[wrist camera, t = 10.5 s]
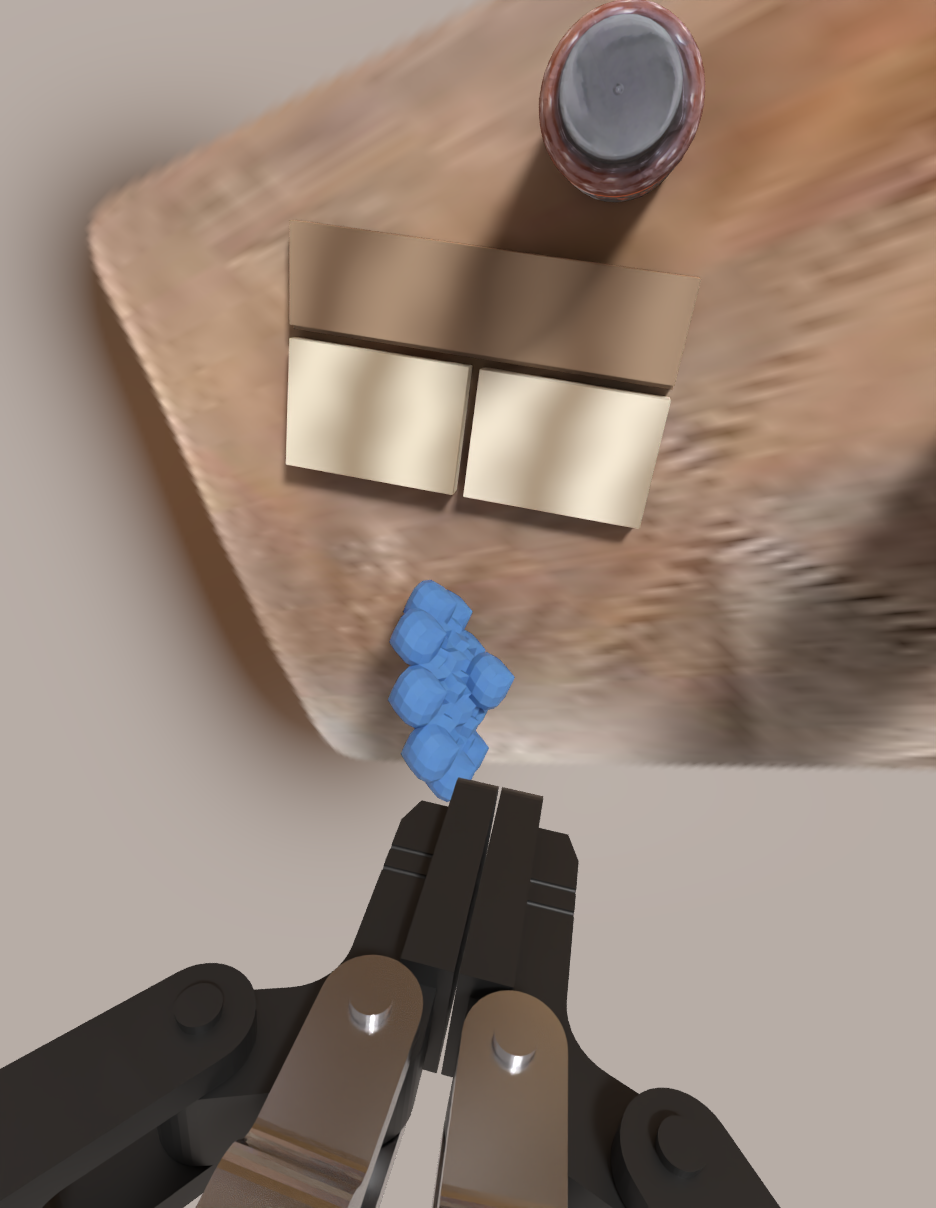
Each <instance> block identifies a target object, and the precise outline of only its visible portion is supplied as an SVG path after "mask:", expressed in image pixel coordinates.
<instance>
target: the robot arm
mask: <svg viewBox="0 0 936 1208" xmlns="http://www.w3.org/2000/svg"><path fill="white" fill-rule="evenodd" d="M498 789H499V787H498V786H494V785H490V784H485V783H481V782H477V781H473V780H468V779H464V778H460V777H458V779H457V781H456V784H455V787H454V791H453V794H452V797H451V800H450V803H449V806H448V807H447V806H443V805H439V804H434V803H430V802H426V801H421V802H419V803H418V804H417V805H416V806H415V807H414V808H413V809H412V810H411V811H410V812H409V813H408V814H407V815H406V816H405V817H404V818H402V820H401V822H400V825H399V827H398V830H397V832H396V835H395V837H394V840H393V842H392V847H391V849H390V850H389V853H388V856H387V858H386V861H385V863H384V867H383V870H382V871H381V874H380V876H379V879H378V881H377V884H376V886H375V889H374V892H373V894H372V897H371V899H370V902H369V904H368V907H367V909H366V912H365V915H364V917H363V920H362V923H361V925H360V928H359V930H358V933H357V935H356V938H355V940H354V943H353V946H352V948H351V950H350V952H349V954H348V955H347V957H346V958H345V960H344V961H343V962H342V963H341V964H340V965H339V966H338V967H337V968H336V969H335V970H334V971H332V972H331V973H330V974H328V975H327V976H325V977H323V978H322V979H320V980H318V981H315V982H313V983H310V984H307V985H303V986H297V987H290V988H289V987H288V988H273V989H258V990H254V989H253V987H252V985H251V983H250V981H249V980H248V979H247V978H246V976H245V975H243V974H242V973H241V972H240V971H238V970H236V969H235V968H233V967H230V966H227V965H224V964H218V963H205V964H199V965H195V966H191V967H188V968H186V969H184V970H181V971H179V972H177V973H175V974H174V975H172V976H170V977H168V978H166V979H164V980H163V981H161V982H159V983H157V984H155V985H153V986H151V987H150V988H148V989H146V990H144V991H142V992H140V993H139V994H137V995H135V996H133V997H131V998H130V999H128V1000H126V1001H124V1002H122V1003H120V1004H119V1005H117V1006H115V1007H113V1008H111V1009H109V1010H107V1011H106V1012H104V1013H102V1014H100V1015H98V1016H97V1017H95V1018H93V1019H91V1020H89V1021H87V1022H85V1023H84V1024H82V1025H80V1026H78V1027H76V1028H75V1029H73V1030H71V1031H69V1032H67V1033H65V1034H64V1035H62V1036H60V1037H58V1038H56V1039H54V1040H52V1041H51V1042H49V1043H47V1044H45V1045H43V1046H41V1047H40V1048H38V1049H36V1050H35V1051H32V1052H31V1053H29V1054H27V1055H25V1056H23V1057H21V1058H20V1059H18V1060H16V1061H14V1062H12V1063H10V1064H9V1065H7V1066H5V1067H3V1068H1V1069H0V1208H183V1207H185V1206H186V1205H187V1204H189V1203H190V1202H191V1201H193V1200H194V1199H196V1198H197V1197H198V1196H199V1195H201V1194H202V1193H203V1194H202V1196H201V1198H200V1200H199V1202H198V1204H197V1206H196V1208H379V1207H380V1204H381V1201H382V1198H383V1195H384V1191H385V1188H386V1185H387V1182H388V1179H389V1176H390V1173H391V1170H392V1167H393V1164H394V1161H395V1157H396V1155H397V1151H398V1148H399V1145H400V1142H401V1139H402V1136H403V1133H404V1130H405V1126H406V1123H407V1121H408V1119H409V1117H410V1115H411V1112H412V1109H413V1105H414V1101H415V1097H416V1093H417V1089H418V1085H419V1080H420V1077H421V1073H422V1069H423V1070H427V1071H430V1072H434V1073H437V1069H438V1065H439V1061H440V1056H441V1052H442V1048H443V1043H444V1038H445V1035H446V1030H447V1026H448V1021H449V1017H450V1013H451V1008H452V1004H453V1000H454V996H455V1000H454V1005H453V1011H452V1016H451V1023H450V1027H449V1033H448V1039H447V1045H446V1050H445V1056H444V1061H443V1067H442V1072H441V1074H443V1075H446V1076H450V1077H453V1081H452V1086H451V1091H450V1097H449V1102H448V1107H447V1112H446V1117H445V1123H444V1128H443V1133H442V1138H441V1145H440V1151H439V1159H438V1166H437V1173H436V1181H435V1187H434V1194H433V1202H432V1208H780V1207H779V1205H778V1204H777V1202H776V1201H775V1199H774V1198H773V1196H772V1195H771V1194H770V1192H769V1191H768V1189H767V1188H766V1186H765V1185H764V1184H763V1182H762V1181H761V1179H760V1178H759V1176H758V1175H757V1173H756V1172H755V1171H754V1169H753V1168H752V1166H751V1165H750V1163H749V1162H748V1161H747V1159H746V1158H745V1156H744V1155H743V1153H742V1152H741V1151H740V1149H739V1148H738V1146H737V1145H736V1143H735V1142H734V1140H733V1139H732V1138H731V1136H730V1135H729V1133H728V1132H727V1130H726V1129H725V1128H724V1126H723V1125H722V1123H721V1122H720V1121H719V1120H718V1118H717V1117H716V1116H715V1115H714V1114H713V1113H712V1112H711V1111H710V1110H709V1109H708V1108H707V1107H706V1106H705V1105H704V1104H702V1103H701V1102H700V1101H698V1100H697V1099H695V1098H694V1097H692V1096H690V1095H688V1094H686V1093H684V1092H681V1091H679V1090H675V1089H670V1088H655V1089H649V1090H647V1091H644V1092H642V1093H640V1094H638V1093H637V1092H635V1091H634V1090H632V1089H630V1088H629V1087H627V1086H626V1085H624V1084H623V1083H621V1082H620V1081H618V1080H616V1079H615V1078H613V1077H612V1076H610V1075H609V1074H607V1073H606V1072H605V1071H603V1070H601V1069H600V1068H599V1067H598V1066H597V1065H595V1063H593V1062H592V1061H591V1060H590V1059H589V1058H588V1057H587V1055H586V1054H585V1053H584V1052H583V1050H582V1049H581V1048H580V1046H579V1044H578V1043H577V1041H576V1040H575V1037H574V1035H573V1033H572V1031H571V1028H570V1025H569V1021H568V1016H567V991H568V979H569V966H570V956H571V944H572V932H573V921H574V917H573V914H574V909H575V897H576V896H575V895H576V894H575V892H576V885H577V872H578V859H577V857H576V854H575V851H574V849H573V846H572V844H571V841H570V838H569V836H568V835H567V834H563V833H558V832H554V831H550V830H546V829H542V828H539V822H540V815H541V809H542V803H543V796H539V795H534V794H530V793H526V792H521V791H517V790H513V789H508V788H503V787H502V791H501V795H500V799H499V804H498V808H497V812H496V816H495V821H494V825H493V829H492V833H491V828H492V822H493V817H494V811H495V806H496V800H497V795H498ZM490 833H491V838H490ZM489 838H490V842H489ZM488 844H489V846H488ZM487 849H488V851H487ZM486 854H487V855H486ZM456 987H457V988H456ZM455 991H456V994H455Z"/></svg>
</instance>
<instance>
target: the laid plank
mask: <svg viewBox="0 0 936 1208" xmlns="http://www.w3.org/2000/svg"><path fill="white" fill-rule="evenodd" d="M700 282H701V278H700V277H694V276H687V275H680V274H673V273H666V272H659V271H652V270H645V269H638V268H631V267H624V266H617V265H610V264H603V263H595V262H588V261H581V260H574V259H567V258H560V257H553V256H546V255H539V254H532V253H525V252H518V251H511V250H504V249H497V248H490V247H483V246H476V245H469V244H462V243H455V242H448V241H441V240H434V239H427V238H420V237H413V236H406V235H399V234H392V233H385V232H378V231H371V230H364V229H357V228H349V227H342V226H335V225H328V224H321V223H314V222H307V221H300V220H289V324H290V325H294V329H298V330H304V331H311V332H317V333H323V334H329V335H335V336H342V337H348V338H354V339H360V340H367V341H373V342H379V343H385V344H391V345H398V346H404V347H410V348H416V349H423V350H429V351H435V352H441V353H447V354H454V355H460V356H466V357H472V358H479V359H485V360H491V361H497V362H503V363H510V364H516V365H522V366H528V367H535V368H541V369H547V370H553V371H559V372H566V373H572V374H578V375H584V376H591V377H597V378H603V379H609V380H615V381H622V382H628V383H634V384H640V385H646V386H653V387H659V388H665V389H671V390H673V386H675V382H676V378H677V374H678V370H679V366H680V362H681V358H682V354H683V350H684V346H685V342H686V338H687V334H688V330H689V326H690V322H691V318H692V314H693V310H694V306H695V302H696V298H697V294H698V290H699V286H700Z"/></svg>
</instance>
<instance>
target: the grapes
mask: <svg viewBox="0 0 936 1208" xmlns="http://www.w3.org/2000/svg"><path fill="white" fill-rule="evenodd" d="M403 613H404V615H403V616H402V617H401V618H400V620H399V622H398V624H397V626H396V627H395V629H394V631H393V634H392V636H391V639H390V644H391V645H392V647H393V649H394V650H395V651H396V652H397V654H398V655H399V656H400V657H401V658H402V659H403V660H404V661H405V662H406V663H407V664H409V665H411V666H409V667H408V668H407V669H406V670H405V671H404V672H403V673H402V674H401V675H400V676H399V678H398V679H397V681H396V683H395V685H394V687H393V689H392V691H391V693H390V696H389V698H388V701H389V702H390V704H391V706H392V707H393V709H394V710H395V712H396V713H397V714H398V715H399V716H400V718H401V719H402V720H403V721H404V722H405V723H406V724H408V725H410V726H412V727H414V728H415V729H414V730H413V731H412V732H411V733H410V735H409V737H408V739H407V741H406V743H405V745H404V748H403V750H402V752H401V755H402V757H403V758H404V760H405V762H406V764H407V765H408V766H409V768H410V769H411V770H412V771H413V773H414V774H415V775H416V776H417V778H418V779H420V780H423V781H425V782H426V784H427V785H428V787H429V788H430V789H431V790H432V792H433V793H434V794H435V795H436V796H437V797H438V798H439V799H442V800H444V801H446V802H448V801H450V800H451V797H452V794H453V791H454V787H455V784H456V781H457V779H458V777H460V778H464V779H468V780H471V779H472V777H473V775H474V773H475V771H476V770H477V769H478V768H479V767H480V765H481V763H482V761H483V759H484V757H485V755H486V753H487V751H488V749H489V748H488V746H487V745H486V743H485V742H484V740H483V739H482V738H481V737H480V735H479V734H478V733H477V732H476V729H477V727H478V725H479V724H480V723H481V722H482V720H483V719H484V717H485V715H486V713H487V711H488V710H490V709H494V708H495V707H496V706H498V705H499V703H500V702H501V701H502V700H503V699H504V698H505V696H506V694H507V692H508V690H509V688H510V686H511V684H512V682H513V680H514V678H515V677H514V676H513V675H512V673H511V672H510V671H509V669H508V668H507V667H506V666H505V665H504V664H503V663H502V661H501V660H499V659H498V658H497V657H495V656H493V655H491V654H490V653H488V652H485V649H484V647H483V646H482V645H481V643H480V642H479V641H478V640H477V639H476V638H475V637H474V635H472V634H471V633H470V632H468V631H466V630H464V629H465V627H466V625H467V623H468V621H469V619H470V617H471V614H472V610H471V609H470V608H469V607H468V605H467V604H466V603H465V602H464V601H463V600H462V599H461V597H460V596H458V595H456V594H455V593H453V592H451V591H449V590H446V589H445V588H444V587H443V586H441V585H439V584H438V583H436V582H434V581H432V580H425V581H422V582H421V583H419V584H418V585H417V586H416V587H415V588H414V590H413V592H412V593H411V595H410V597H409V599H408V601H407V603H406V606H405V608H404V611H403Z"/></svg>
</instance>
